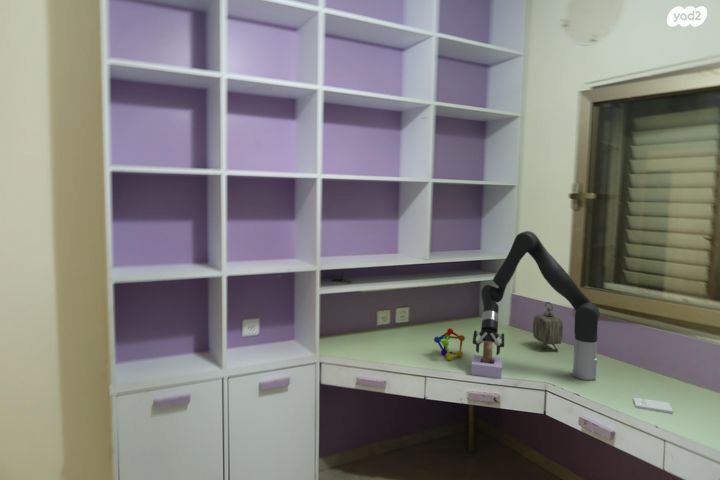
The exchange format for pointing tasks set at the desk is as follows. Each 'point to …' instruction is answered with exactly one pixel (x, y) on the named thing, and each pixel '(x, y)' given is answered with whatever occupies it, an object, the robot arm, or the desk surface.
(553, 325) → the tabletop clock
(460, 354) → the educational toy
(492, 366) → the socket
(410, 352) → the desk surface
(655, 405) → the external hard drive
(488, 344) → the dowel
